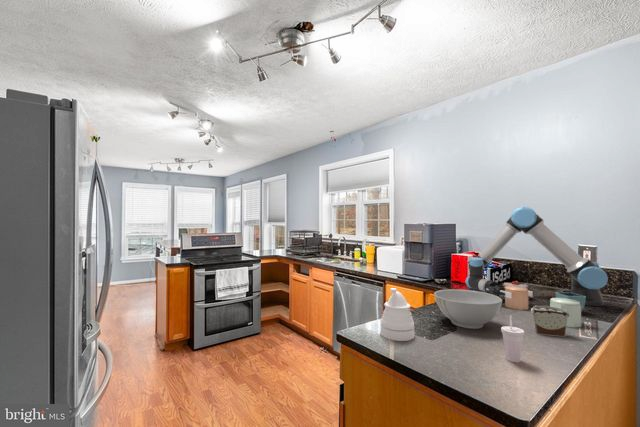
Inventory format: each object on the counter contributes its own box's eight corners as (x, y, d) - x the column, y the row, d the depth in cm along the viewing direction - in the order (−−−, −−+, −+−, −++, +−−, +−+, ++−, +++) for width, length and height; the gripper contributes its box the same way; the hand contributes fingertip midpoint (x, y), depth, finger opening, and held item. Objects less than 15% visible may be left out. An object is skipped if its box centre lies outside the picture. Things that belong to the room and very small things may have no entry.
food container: (563, 332, 122) (562, 307, 122) (569, 337, 116) (569, 311, 117) (527, 328, 126) (527, 304, 126) (532, 333, 120) (532, 308, 121)
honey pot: (395, 343, 110) (395, 293, 110) (374, 331, 121) (374, 286, 122) (421, 337, 116) (421, 290, 116) (398, 326, 127) (398, 284, 128)
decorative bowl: (424, 324, 131) (423, 296, 131) (447, 311, 150) (446, 286, 151) (493, 340, 112) (493, 308, 113) (509, 323, 132) (508, 295, 132)
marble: (534, 312, 148) (534, 306, 148) (540, 314, 145) (540, 308, 145) (529, 313, 147) (529, 306, 148) (535, 315, 144) (535, 308, 144)
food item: (501, 297, 180) (501, 280, 181) (504, 294, 186) (504, 278, 187) (529, 301, 171) (528, 283, 172) (531, 298, 177) (530, 281, 178)
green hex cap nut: (562, 318, 139) (561, 297, 139) (586, 326, 129) (585, 302, 130) (545, 320, 136) (545, 298, 137) (568, 328, 127) (568, 304, 127)
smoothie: (496, 355, 100) (496, 313, 100) (515, 355, 100) (514, 312, 101) (510, 364, 93) (510, 319, 94) (530, 364, 94) (529, 318, 94)
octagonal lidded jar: (515, 303, 165) (515, 285, 165) (532, 309, 155) (532, 289, 155) (500, 305, 162) (500, 286, 162) (517, 310, 152) (517, 290, 153)
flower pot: (573, 310, 153) (573, 292, 154) (587, 315, 145) (586, 296, 145) (555, 309, 154) (554, 291, 155) (567, 314, 146) (567, 296, 146)
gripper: (506, 291, 179) (540, 300, 159) (471, 294, 173) (502, 303, 152) (506, 279, 179) (540, 286, 159) (471, 281, 173) (502, 288, 153)
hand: (521, 295), depth 156 cm, fingers open, 13 cm apart
